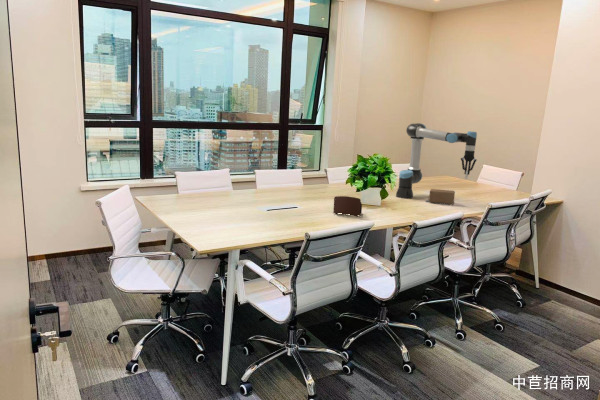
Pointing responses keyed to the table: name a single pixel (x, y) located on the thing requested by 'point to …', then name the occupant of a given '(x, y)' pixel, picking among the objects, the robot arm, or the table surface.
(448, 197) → the wooden block
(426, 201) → the mat
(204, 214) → the table surface
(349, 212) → the letter holder
